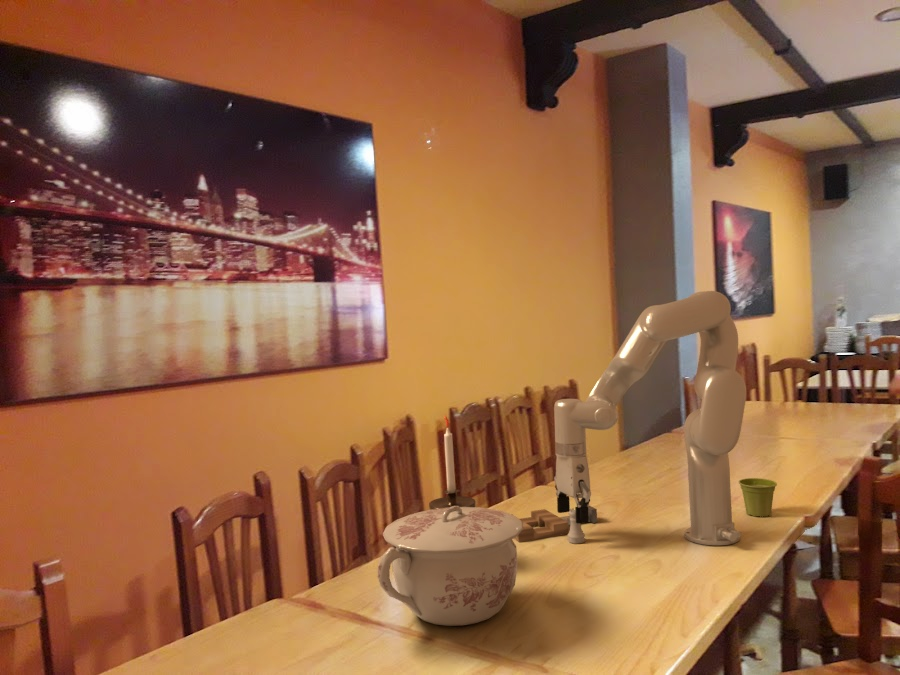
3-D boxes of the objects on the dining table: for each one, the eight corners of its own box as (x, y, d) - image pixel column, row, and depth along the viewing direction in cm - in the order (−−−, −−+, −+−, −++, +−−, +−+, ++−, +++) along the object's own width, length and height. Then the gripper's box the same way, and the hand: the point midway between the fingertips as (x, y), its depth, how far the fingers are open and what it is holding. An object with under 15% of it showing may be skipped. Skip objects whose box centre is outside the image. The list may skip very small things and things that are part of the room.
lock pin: (597, 522, 185) (596, 509, 185) (559, 528, 182) (558, 515, 182) (588, 517, 190) (587, 504, 190) (550, 523, 187) (550, 510, 186)
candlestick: (426, 560, 164) (417, 414, 163) (468, 552, 168) (460, 409, 167) (442, 575, 154) (432, 419, 153) (486, 566, 158) (477, 414, 157)
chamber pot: (518, 579, 149) (513, 484, 148) (539, 638, 122) (532, 522, 121) (388, 589, 148) (383, 493, 148) (380, 650, 121) (372, 533, 120)
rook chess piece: (573, 537, 175) (571, 506, 175) (588, 540, 172) (587, 508, 172) (564, 542, 171) (562, 510, 171) (580, 545, 169) (578, 513, 168)
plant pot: (774, 509, 188) (773, 478, 188) (781, 519, 179) (779, 486, 179) (737, 508, 191) (736, 477, 190) (742, 519, 181) (741, 486, 181)
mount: (568, 533, 178) (568, 522, 178) (518, 542, 174) (518, 530, 173) (545, 519, 191) (544, 509, 191) (498, 527, 187) (497, 516, 187)
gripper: (601, 453, 164) (603, 525, 164) (568, 442, 180) (570, 506, 181) (573, 456, 162) (575, 529, 162) (541, 444, 178) (543, 510, 179)
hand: (572, 517), depth 172 cm, fingers open, 9 cm apart
